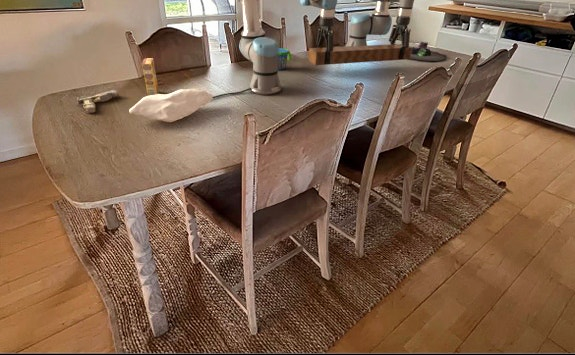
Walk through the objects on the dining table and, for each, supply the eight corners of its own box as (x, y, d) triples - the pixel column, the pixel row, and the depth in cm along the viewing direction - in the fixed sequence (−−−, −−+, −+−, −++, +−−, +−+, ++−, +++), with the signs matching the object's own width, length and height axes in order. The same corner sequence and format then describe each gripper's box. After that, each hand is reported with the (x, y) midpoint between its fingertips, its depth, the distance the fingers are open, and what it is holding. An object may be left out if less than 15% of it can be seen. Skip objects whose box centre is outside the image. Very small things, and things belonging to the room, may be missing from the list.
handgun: (128, 97, 156) (111, 87, 164) (86, 107, 144) (70, 97, 152) (129, 103, 157) (113, 94, 165) (88, 114, 146) (72, 103, 154)
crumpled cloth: (117, 110, 146) (113, 90, 140) (195, 92, 166) (194, 73, 160) (143, 139, 134) (140, 118, 128) (223, 116, 154) (224, 96, 148)
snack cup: (285, 64, 217) (285, 46, 212) (295, 68, 210) (296, 50, 204) (262, 67, 210) (262, 49, 204) (272, 72, 202) (272, 53, 197)
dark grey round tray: (457, 57, 245) (460, 43, 240) (424, 63, 227) (427, 48, 223) (415, 49, 269) (417, 36, 265) (382, 54, 252) (384, 40, 247)
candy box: (157, 97, 164) (152, 63, 155) (147, 98, 163) (141, 63, 155) (158, 91, 171) (153, 57, 163) (149, 91, 170) (143, 58, 162)
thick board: (315, 65, 195) (316, 52, 191) (308, 60, 202) (309, 48, 198) (409, 59, 216) (412, 47, 213) (400, 55, 223) (402, 43, 219)
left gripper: (343, 21, 181) (338, 66, 193) (324, 13, 198) (320, 55, 210) (329, 21, 179) (325, 67, 191) (312, 14, 196) (309, 56, 208)
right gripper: (421, 19, 198) (412, 61, 210) (397, 12, 214) (390, 52, 227) (410, 20, 195) (401, 62, 208) (387, 13, 212) (380, 52, 224)
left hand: (323, 61), depth 201 cm, fingers closed on thick board, 9 cm apart
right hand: (395, 57), depth 217 cm, fingers closed on thick board, 9 cm apart
